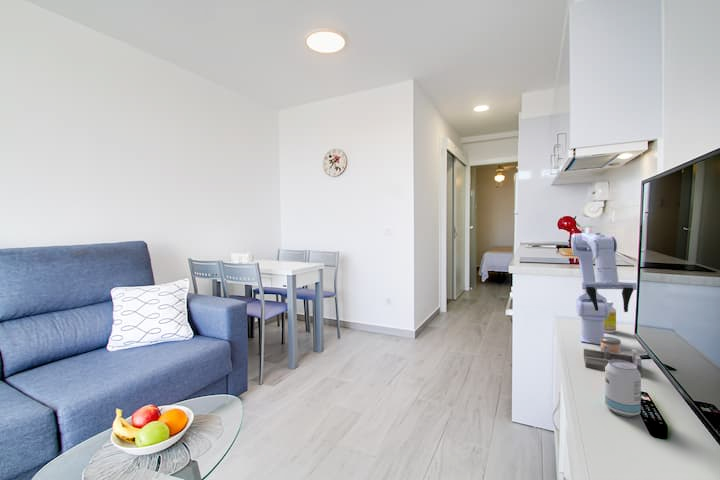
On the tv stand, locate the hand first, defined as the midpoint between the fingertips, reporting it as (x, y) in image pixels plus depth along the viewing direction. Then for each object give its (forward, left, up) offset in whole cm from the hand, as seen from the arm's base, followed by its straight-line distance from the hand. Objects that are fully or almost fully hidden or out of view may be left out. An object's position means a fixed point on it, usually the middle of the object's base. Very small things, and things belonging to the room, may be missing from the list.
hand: (611, 311), depth 106 cm
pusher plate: (+1, -1, -17) cm, 17 cm away
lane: (+1, 0, -18) cm, 18 cm away
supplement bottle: (-39, +3, -18) cm, 43 cm away
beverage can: (+31, -1, -18) cm, 36 cm away
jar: (-8, +1, -18) cm, 20 cm away
